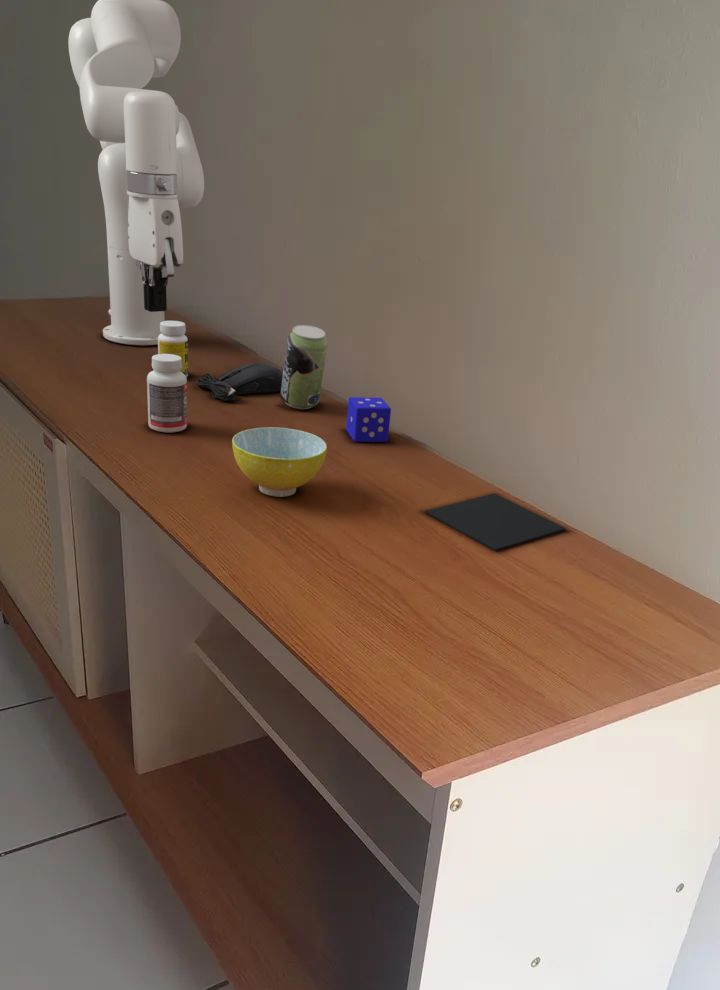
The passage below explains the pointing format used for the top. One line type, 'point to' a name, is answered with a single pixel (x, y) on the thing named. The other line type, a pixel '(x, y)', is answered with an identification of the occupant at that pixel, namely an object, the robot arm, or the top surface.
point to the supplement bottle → (174, 342)
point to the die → (368, 419)
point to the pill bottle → (167, 394)
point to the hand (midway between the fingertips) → (155, 310)
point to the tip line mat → (495, 521)
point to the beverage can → (303, 367)
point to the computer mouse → (243, 381)
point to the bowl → (278, 458)
